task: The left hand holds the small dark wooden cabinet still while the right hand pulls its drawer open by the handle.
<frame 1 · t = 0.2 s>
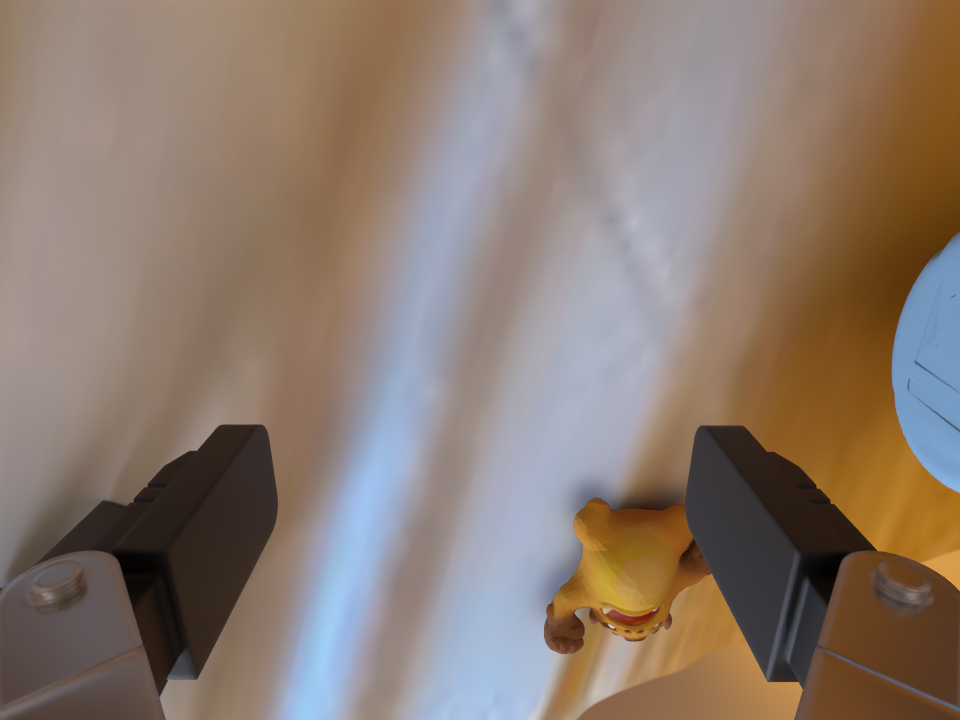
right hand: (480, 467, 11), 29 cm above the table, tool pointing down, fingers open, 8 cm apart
toy: (615, 554, 48), on the table
planter: (100, 584, 49), on the table
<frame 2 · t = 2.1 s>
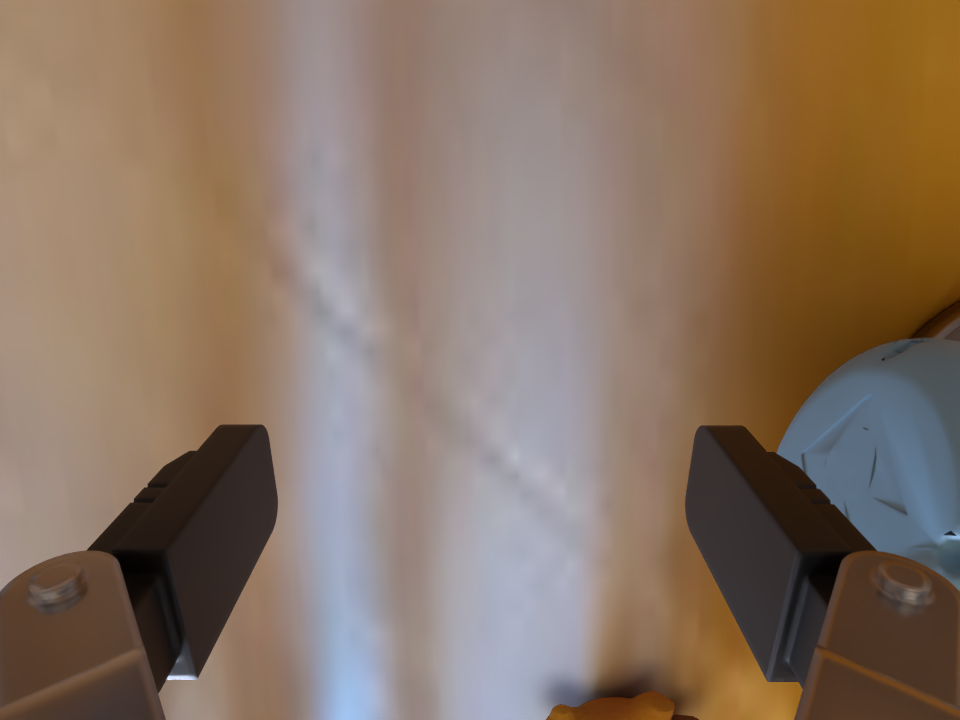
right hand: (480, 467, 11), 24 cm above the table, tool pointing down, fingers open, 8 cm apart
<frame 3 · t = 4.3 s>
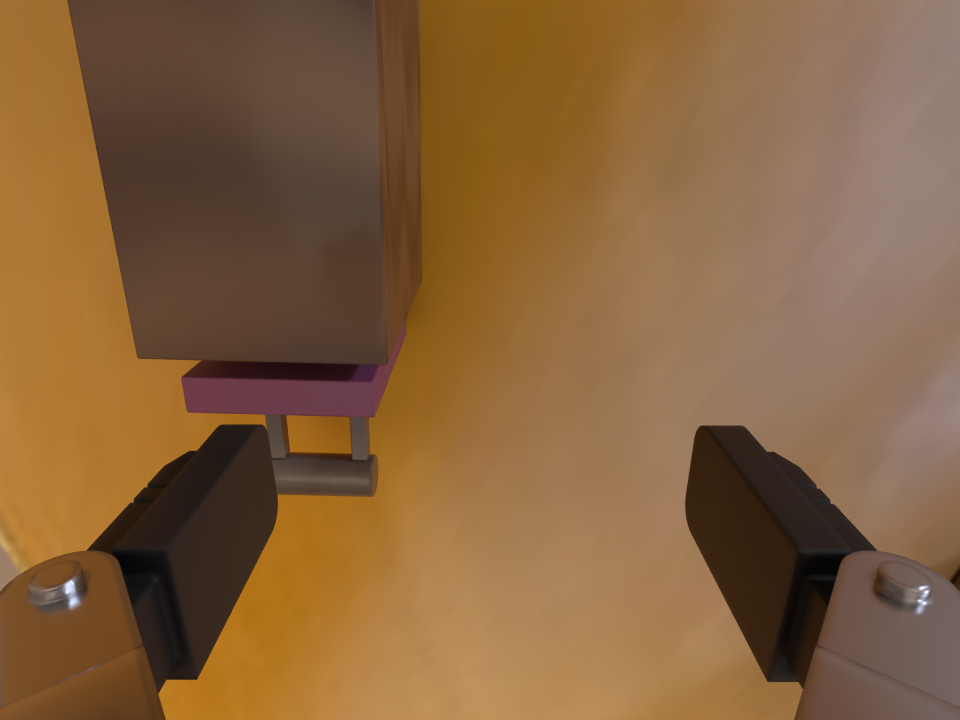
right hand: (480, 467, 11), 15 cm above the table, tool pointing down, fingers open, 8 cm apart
drawer: (299, 188, 19), point 5 cm above the table, slide at 0.9 cm
cabinet: (325, 25, 22), on the table, touching left hand
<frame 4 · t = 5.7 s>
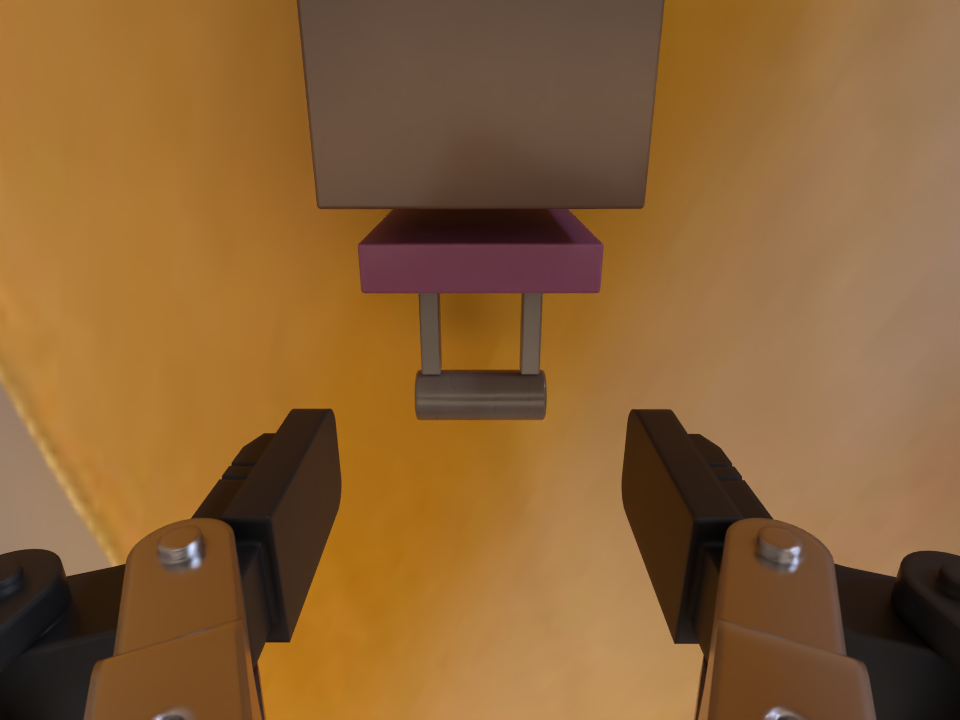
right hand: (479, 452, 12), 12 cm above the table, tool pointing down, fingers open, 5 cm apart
drawer: (480, 18, 15), point 5 cm above the table, slide at 0.9 cm
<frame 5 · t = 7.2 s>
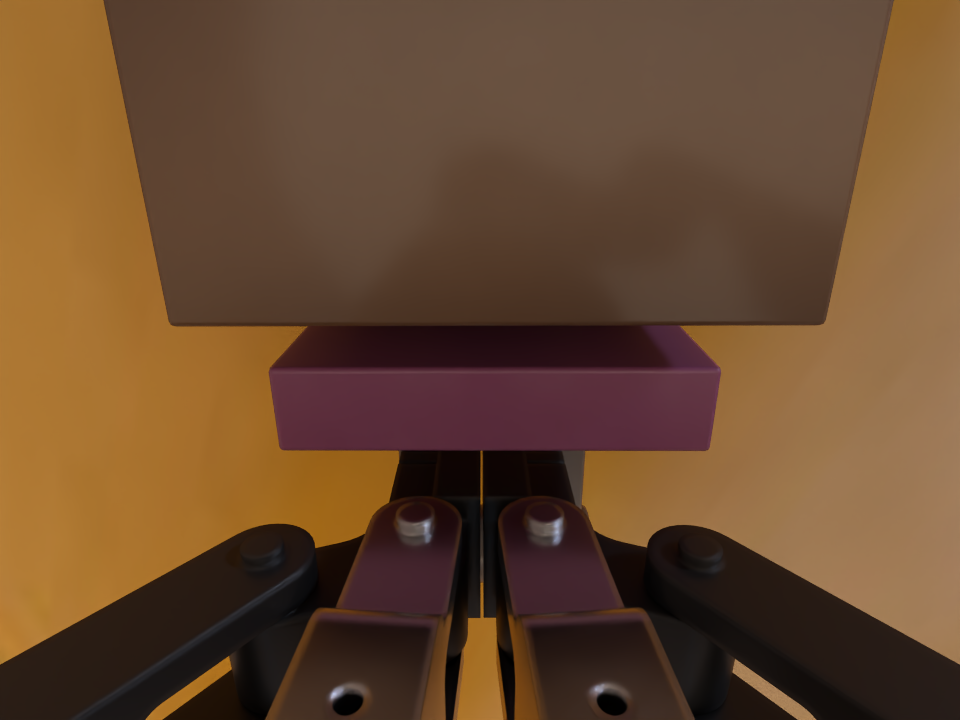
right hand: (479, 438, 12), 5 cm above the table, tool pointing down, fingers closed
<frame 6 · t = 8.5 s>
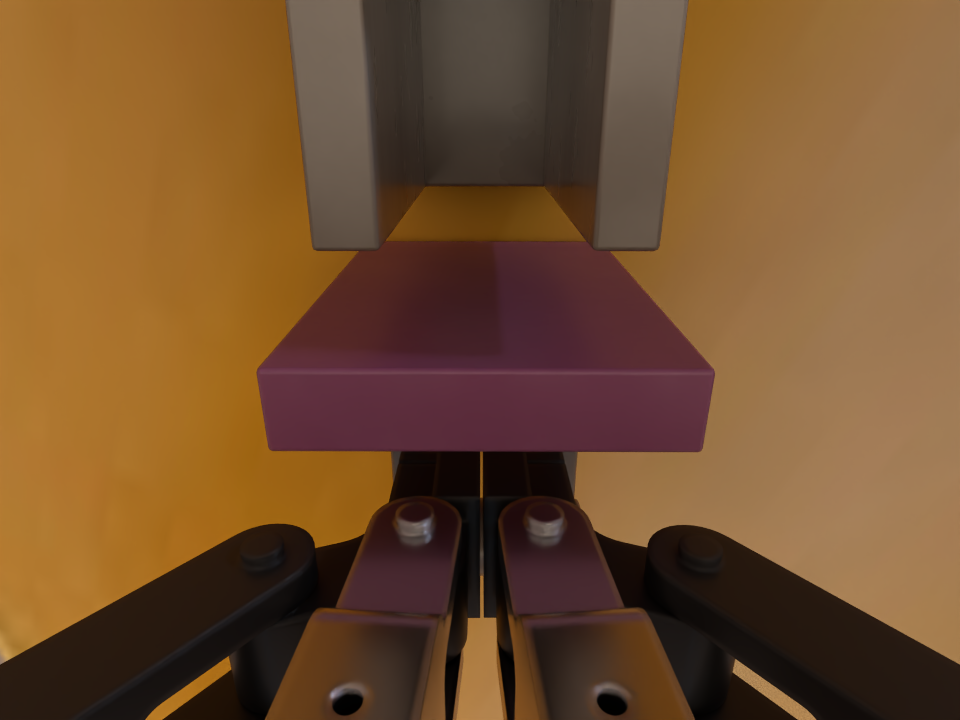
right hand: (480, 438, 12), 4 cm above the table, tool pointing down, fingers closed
when the left hand's fingers open (4 cm above the table, at t = 9.8 s): cabinet stays where it is, on the table.
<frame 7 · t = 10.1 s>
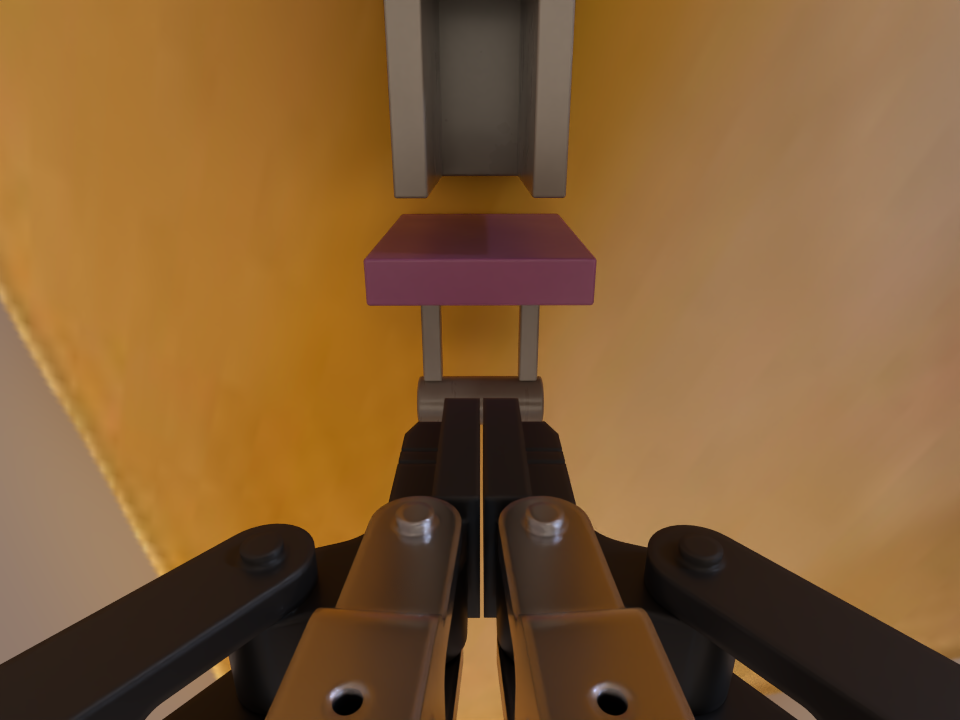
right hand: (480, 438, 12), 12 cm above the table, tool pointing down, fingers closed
drawer: (479, 42, 16), point 5 cm above the table, slide at 7.1 cm
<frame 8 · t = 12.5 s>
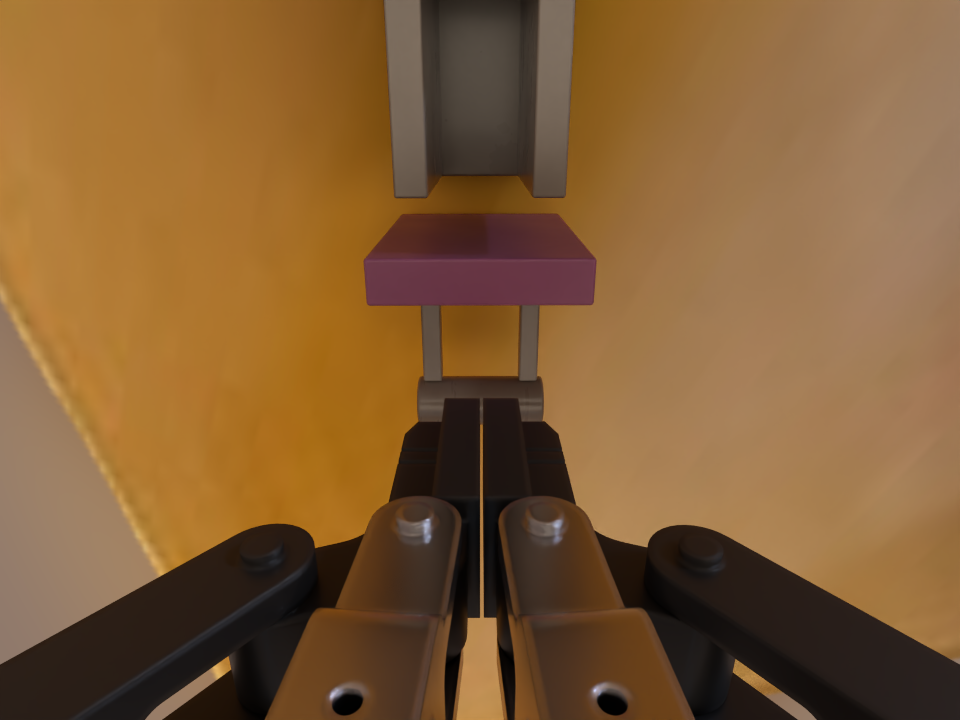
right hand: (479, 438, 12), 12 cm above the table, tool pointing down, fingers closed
drawer: (479, 42, 16), point 5 cm above the table, slide at 7.1 cm
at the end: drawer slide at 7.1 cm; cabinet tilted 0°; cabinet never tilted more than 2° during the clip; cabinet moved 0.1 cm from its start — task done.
